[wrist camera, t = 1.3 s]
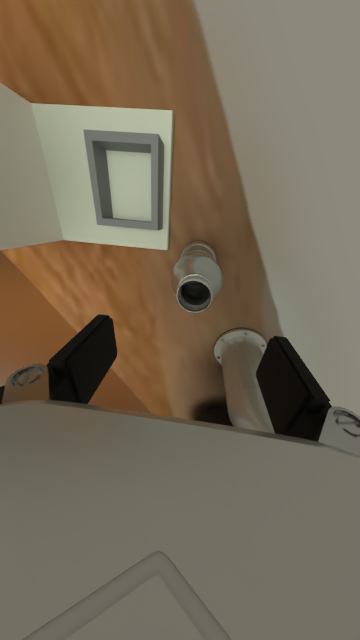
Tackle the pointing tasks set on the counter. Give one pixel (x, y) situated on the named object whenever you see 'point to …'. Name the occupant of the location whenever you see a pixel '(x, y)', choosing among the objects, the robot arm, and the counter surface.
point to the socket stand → (84, 174)
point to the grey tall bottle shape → (196, 277)
